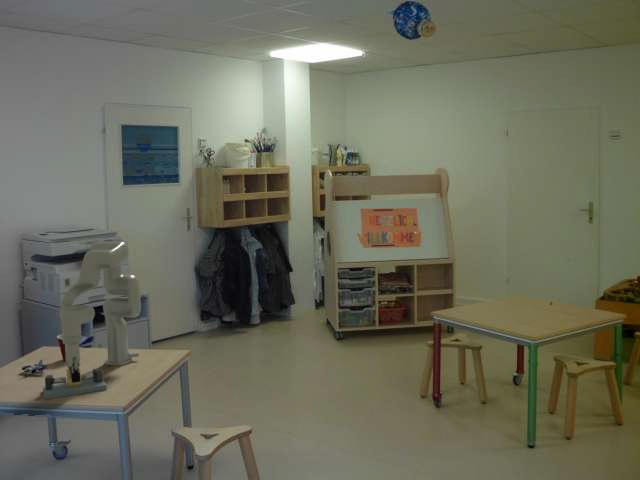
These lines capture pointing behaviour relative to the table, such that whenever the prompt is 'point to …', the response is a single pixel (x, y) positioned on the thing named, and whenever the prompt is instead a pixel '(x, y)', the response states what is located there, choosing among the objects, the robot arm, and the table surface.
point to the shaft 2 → (94, 375)
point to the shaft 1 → (53, 381)
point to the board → (74, 389)
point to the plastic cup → (62, 346)
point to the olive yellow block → (69, 379)
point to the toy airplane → (34, 368)
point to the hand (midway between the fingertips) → (74, 378)
